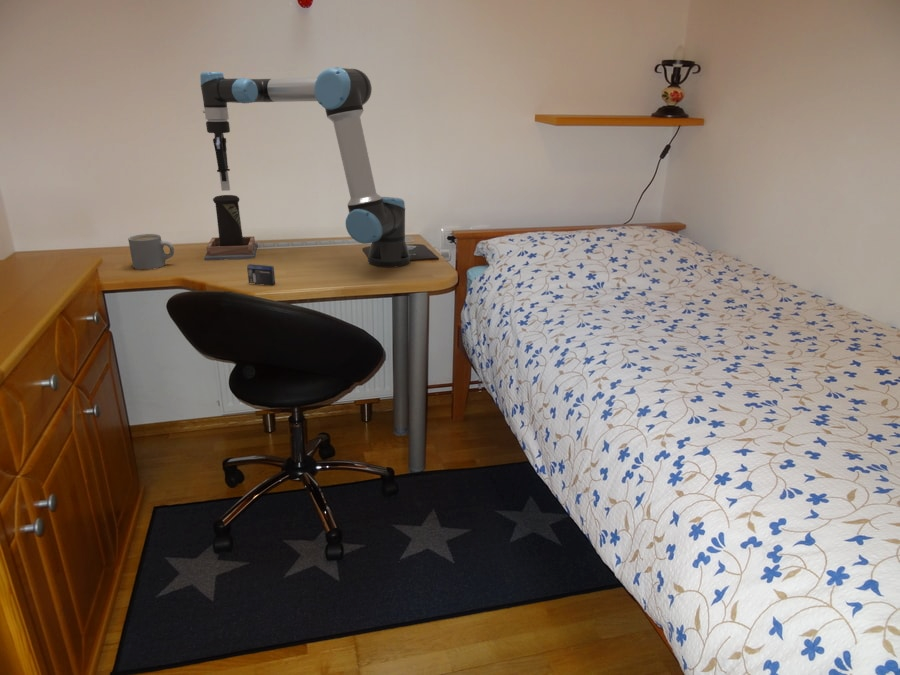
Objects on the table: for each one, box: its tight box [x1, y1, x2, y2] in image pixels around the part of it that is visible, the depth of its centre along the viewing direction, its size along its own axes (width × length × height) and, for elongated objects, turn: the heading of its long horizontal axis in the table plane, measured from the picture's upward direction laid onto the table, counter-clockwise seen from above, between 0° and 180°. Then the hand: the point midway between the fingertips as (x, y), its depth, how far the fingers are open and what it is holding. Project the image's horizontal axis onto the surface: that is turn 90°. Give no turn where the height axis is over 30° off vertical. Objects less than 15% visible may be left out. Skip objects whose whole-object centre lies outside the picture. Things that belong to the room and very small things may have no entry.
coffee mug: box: [128, 233, 175, 270], centre depth 210 cm, size 13×10×10 cm
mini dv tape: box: [246, 263, 276, 286], centre depth 195 cm, size 8×2×6 cm, turn 80°
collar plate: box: [203, 236, 259, 261], centre depth 229 cm, size 20×17×4 cm
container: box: [212, 194, 244, 246], centre depth 226 cm, size 9×9×20 cm
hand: (225, 190), depth 221 cm, fingers closed
